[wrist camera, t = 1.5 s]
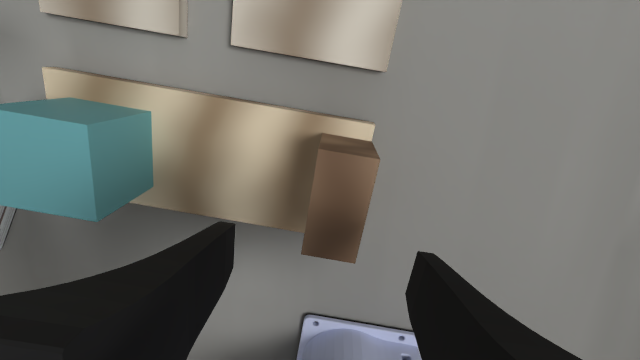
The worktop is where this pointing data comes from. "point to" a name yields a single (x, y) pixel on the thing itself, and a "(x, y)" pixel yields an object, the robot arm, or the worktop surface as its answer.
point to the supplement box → (5, 221)
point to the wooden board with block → (247, 159)
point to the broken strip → (266, 25)
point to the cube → (73, 156)
